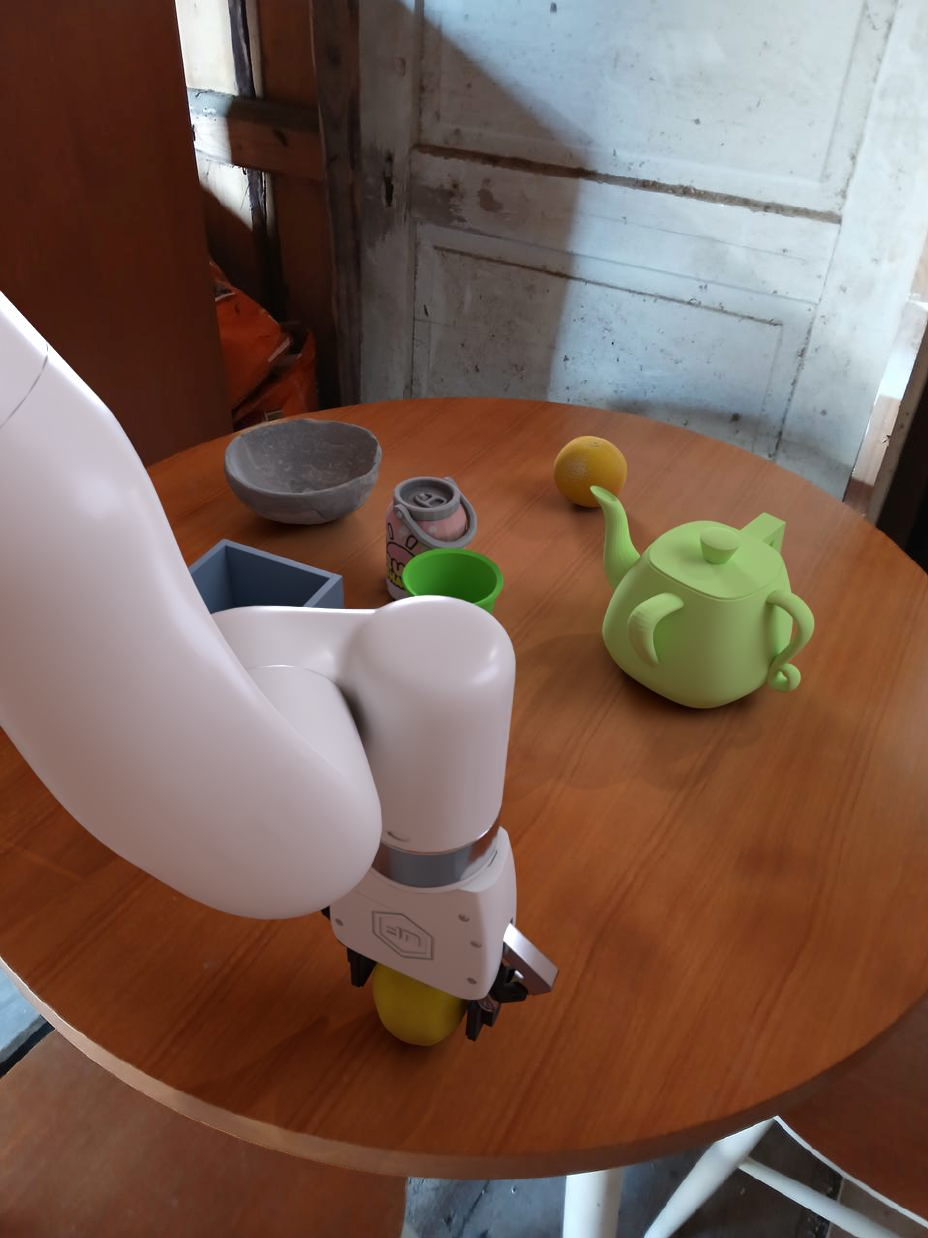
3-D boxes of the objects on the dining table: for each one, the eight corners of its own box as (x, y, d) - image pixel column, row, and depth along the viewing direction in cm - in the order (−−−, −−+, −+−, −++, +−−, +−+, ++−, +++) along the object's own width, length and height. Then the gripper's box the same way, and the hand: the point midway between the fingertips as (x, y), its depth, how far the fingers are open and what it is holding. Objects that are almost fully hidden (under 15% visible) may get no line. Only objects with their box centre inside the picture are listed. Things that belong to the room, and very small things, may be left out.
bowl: (198, 525, 104) (188, 463, 99) (285, 459, 117) (279, 402, 112) (333, 568, 98) (329, 505, 93) (408, 494, 111) (408, 435, 106)
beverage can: (487, 592, 96) (494, 495, 89) (435, 629, 91) (438, 529, 84) (422, 558, 101) (423, 463, 93) (369, 592, 95) (366, 493, 88)
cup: (474, 630, 91) (480, 540, 84) (510, 689, 85) (520, 596, 78) (389, 649, 88) (388, 556, 82) (419, 711, 82) (421, 616, 75)
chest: (236, 628, 90) (223, 538, 83) (347, 667, 86) (342, 575, 79) (130, 730, 79) (105, 635, 72) (252, 779, 75) (237, 684, 68)
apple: (469, 1069, 57) (476, 1004, 52) (368, 1065, 57) (365, 1000, 52) (471, 975, 62) (477, 908, 57) (378, 971, 62) (376, 903, 57)
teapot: (807, 727, 82) (857, 603, 73) (589, 718, 82) (612, 592, 73) (758, 602, 97) (795, 485, 88) (573, 593, 97) (591, 475, 88)
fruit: (624, 489, 114) (635, 432, 109) (617, 523, 108) (627, 464, 103) (556, 478, 116) (563, 421, 111) (544, 510, 110) (551, 451, 105)
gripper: (243, 808, 46) (274, 988, 58) (562, 941, 41) (528, 1110, 52) (320, 715, 52) (334, 896, 63) (610, 823, 47) (570, 998, 58)
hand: (423, 992), depth 58 cm, fingers open, 7 cm apart
